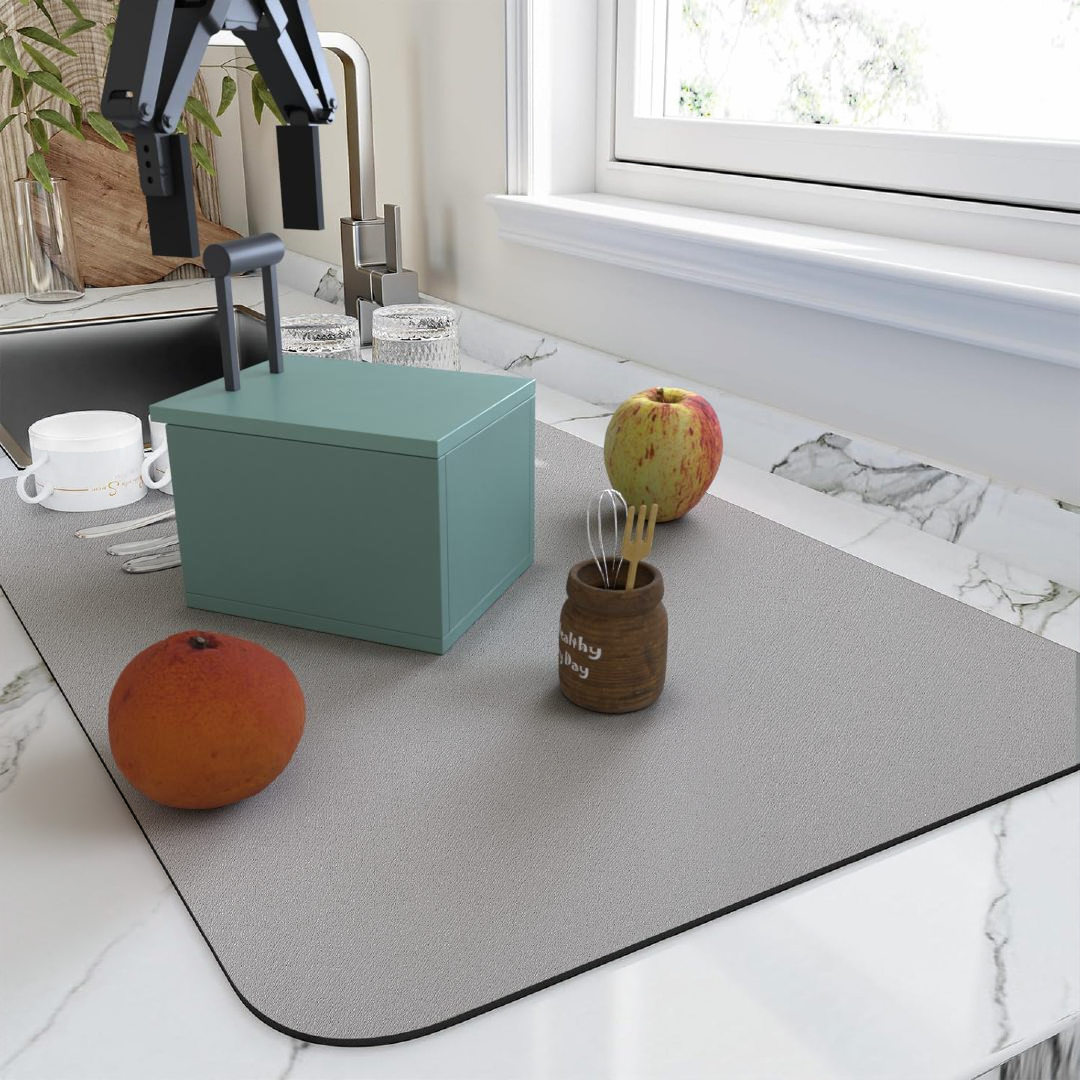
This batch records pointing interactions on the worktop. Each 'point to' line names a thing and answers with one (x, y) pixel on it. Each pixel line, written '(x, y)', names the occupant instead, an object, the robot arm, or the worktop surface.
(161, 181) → the robot arm
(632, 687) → the utensil holder
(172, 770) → the fruit
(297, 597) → the teal storage box
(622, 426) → the apple
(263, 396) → the lid
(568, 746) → the worktop surface
